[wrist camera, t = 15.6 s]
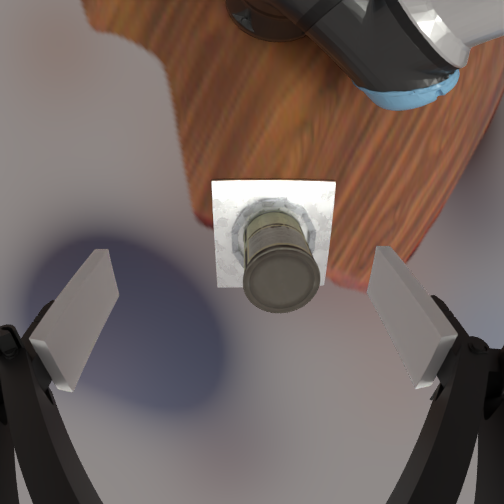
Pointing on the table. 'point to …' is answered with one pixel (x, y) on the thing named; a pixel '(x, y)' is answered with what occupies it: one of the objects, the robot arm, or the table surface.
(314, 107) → the table surface
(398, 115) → the table surface
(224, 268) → the duct collar
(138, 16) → the table surface
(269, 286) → the coffee can
